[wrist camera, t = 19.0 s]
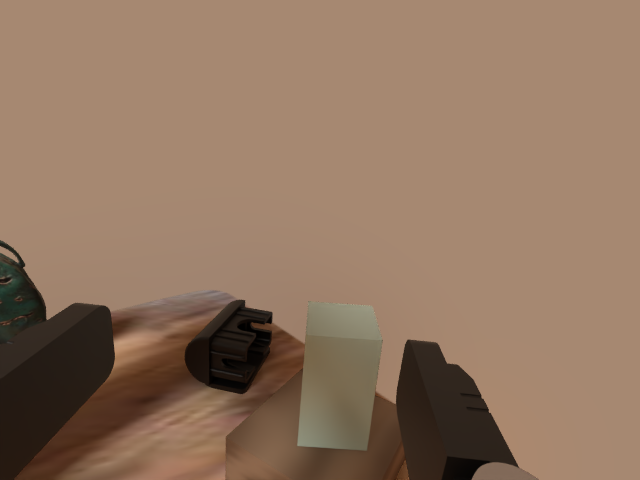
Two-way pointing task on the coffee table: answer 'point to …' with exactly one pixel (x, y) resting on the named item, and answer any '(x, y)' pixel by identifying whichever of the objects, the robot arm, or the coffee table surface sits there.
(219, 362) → the end cap
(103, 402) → the coffee table surface
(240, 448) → the walnut box
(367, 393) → the tall sage green block
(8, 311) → the green animal figurine
